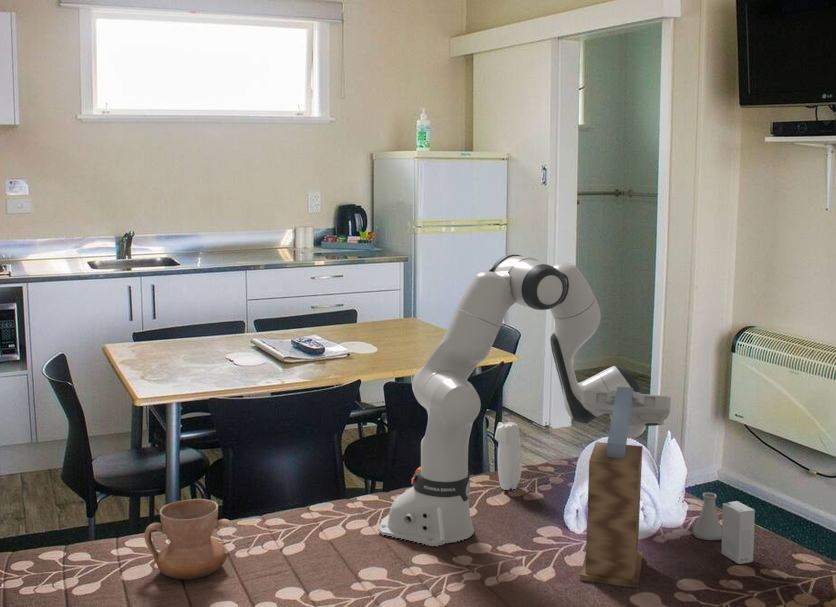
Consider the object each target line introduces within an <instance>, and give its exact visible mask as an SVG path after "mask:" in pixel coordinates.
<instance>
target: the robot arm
mask: <svg viewBox="0 0 836 607" xmlns="http://www.w3.org/2000/svg"><path fill="white" fill-rule="evenodd" d="M515 304H518V305H521V306H524V307H527V308H531V309H533V310H539V311H547V310H550V312H551V315H552V316H553V319H554V330H553V333H552V334H551V335H550V337H549V338H550V339H549V340H550V347H551V352H552V356H553V360H554V364H555V369H556V372H557V376H558V380H559V383H560V387H561V392H562V397H563V398H562V399H563V404H564V409H565V411H566V413H567V415H568V416H569V417H570V418H571V419H572V421H574V422H577V423H581V424H585V425H586V424H589V423H591V422H593V421H594V420H596V419H597V418H599V417H600V416H602V415H603V414H609V417H610V420H612V414H613V409H614V403H615V398H616V392H617V387H628V388H633V392H632V395H633V396H632V401H633V403H632V410H631V417H630V423H629V430H628V437H627V439H635V438H637V437H639V436H640V435H642V434H644V431H645V430H646V428H647V427H653V426H663V425H664V422H665V420H667V419H668V418H669V416H670V412H671V400H672V398H671V397H670V396H668V395H661V394H660V395H659V394H648V393H647V394H645V393H642V392H641V389H640V386H639V384H638V383H637V380H636V379H635V378H634V376H633V374H631V372H630V371H629V370H628V369H626V368H624V367H622V366H619V365H613V366H610V367H608V368H606V369H604V370H602V371H600V372H598V373H597V374H594V375H593V376H590V377H588V378H586V379H584V380H583V381H580V382H578V379H577V377H576V372H575V369H574V364H573V362H574V357H575V356H576V354H577V353H578V351H579V350H580V349H581V348H582V346H583V345H584V344H585V343H586V342H588V341H589V339H591V337H593V335H594V334H595V333H596V331H597V330H598V328H599V326H600V323H601V318H602V313H601V308H600V306H599V303H598V300H597V299H596V296H595V294H594V292H593V290H592V288H591V286H590V284H589V282H588V281H587V279H586V278H585V276H584V275H583V274H582V272H581V271H580V270H579V268H578V267H577V266H576V265H574V264H572V263H570V262H560V263H556V264H553V265H549V264H546V263H544V262H542V261H539V260H538V259H535V258H532V257H530V256H529V257H528V256H523V255H521V254H507V255H503V256H502V257H501V258H498V260H497V261H496V262H495V263H494V264H493V265H492V267H491V268H490V269H489V270H486V271H480V272H478V273H476V275H475V276H474V277H473V278H472V279H471V281H470V283H469V284H468V285H467V287H466V289H465V290H464V292H463V295H462V296H461V299H459V302H458V304H457V305H456V308H455V311H454V312H453V315H452V317H451V320H450V322H449V324H448V326H447V328H446V330H445V333H444V335H443V337H442V339H441V341H440V342H439V344H438V346H437V347H436V348H435V350H434V351H433V353H432V354H431V356H430V357H429V358H428V360H427V361H426V363H425V364H424V365H423V366H421V367H420V368H418V369H417V371H416V372H415V373H414V375H413V378H412V380H411V387H412V388H411V389H412V392H413V395H414V397H415V400H416V401H417V402H418V404H420V405H421V406H422V407H423V408H424V409H425V410H426V413H427V425H426V430H425V434H424V436H423V438H421V442H420V466H419V467H418V468H417V469H416V470H415V472H414V474H413V476H412V477H411V485H412V487H410V488H409V489H407V490H405V491H404V492H403V493H402V494H400V495H398V496H397V497H396V498H395V499H394V501H393V502H392V504H391V505H390V508H389V512H388V514H387V515H386V516H385V517H384V518H383V519H382V520H381V522H380V523H379V527H378V531H379V532H380V533H381V534H382V535H381V534H380V533H379V532H378V533H379V534H380V535H381V536H384V535H387V536H386V537H388V536H392V537H391V538H393V537H396V538H395V539H397V538H401V539H400V540H402V539H406V540H410V541H414V542H413V543H415V542H417V543H416V544H419V543H422V544H421V545H424V544H425V545H426V546H429V547H433V546H436V547H440V546H443V545H446V544H451V543H458V542H461V541H460V540H462V541H464V539H465V540H466V539H469V538H471V537H472V536H473V535H474V533H475V530H474V529H475V528H474V526H473V522H472V517H471V513H470V512H471V511H470V504H469V503H470V502H469V498H470V494H471V479H470V473H469V470H468V469H469V465H468V464H469V443H470V441H469V440H470V436H471V432H472V428H473V423H474V421H475V420H476V419H477V417H478V416H479V414H480V411H481V406H482V405H481V399H480V395H479V393H478V392H477V390H476V388H475V387H474V385H473V384H472V382H470V381H468V379H469V377H470V376H471V374H473V372H474V370H475V369H476V368H477V367H478V366H479V364H481V363H482V362H483V361H485V360H486V359H487V358H488V356H489V354H490V351H491V349H492V347H493V345H494V342H495V340H496V338H497V336H498V333H499V331H500V329H501V327H502V324H503V321H504V319H505V316H506V314H507V312H508V310H509V309H510V308H511V307H512V306H513V305H515ZM406 540H405V541H406ZM410 541H409V542H410ZM457 541H458V542H457ZM445 543H446V544H445ZM425 545H424V546H425ZM439 545H440V546H439Z"/></svg>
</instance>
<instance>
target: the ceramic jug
mask: <svg viewBox="0 0 836 607" xmlns="http://www.w3.org/2000/svg"><path fill="white" fill-rule="evenodd" d="M158 511H159V512H158V513H159V517H160V522H152V523H150V524H149V525H148V526H146V528H145V530H144V542H145V544H146V547H147V548H148V550H149V551H150V553H151V554H152V556H153V560H154V562H155V564H156V566H157V568H158V570H159V571H160V572H161V573H162V574H163V575H165V576H167V577H169V578H173V579H177V580H195V579H200V578H204V577H207V576H209V575H212V574H213V573H215V572H216V571H218V570H219V569H220V568H222V566H223V565H224V563H225V562H226V561H227V559H228V557H229V555H230V554H229V553H230V552H229V550H228V548H227V549H226V547H225V546H224V545H223V544H222V543H221V542H220V541H218V540H216V539H214V538H212V535H213V533H214V531H215V530H216V529H217V528H219V527H222V526H223V527H227V528H228V527H229V524H230V522H231V521H230V520H229V519H228V518H227V519H226V518H222V519H218V516H219V505H218V503H217V502H216V501H214V500H211V499H206V498H193V499H185V500H177V501H174V502H171V503H170V502H169V503H168V504H165V505H163V506H162V507H161V508H160V509H159V510H158ZM153 531H157V532H160V533H162V534H163V535H166V536H167V538H168V541H169V544H167V545H166V546H165V547H164V548H162V549H161V550H160V551H159V552H158V551H157V549H156V547H155V545H154V543H153V539H152V533H153Z"/></svg>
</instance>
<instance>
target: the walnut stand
mask: <svg viewBox="0 0 836 607" xmlns="http://www.w3.org/2000/svg"><path fill="white" fill-rule="evenodd" d="M642 461H643V446H642V445H634V444H626V450H625V457H624V459H621V458H610V457H607V442H602V441H601V442H600V441H595V443H594V446H593V449H592V451H591V454H590V458H589V460H588V483H587V484H588V488H587V510H586V511H587V515H586V516H587V517H586V541H585V542H586V543H585V544H586V545H585V546H586V547H585V554H584V555H585V556H584V559H583V563H582V567H581V571H580V574H579V581H584V582H590V583H591V582H593V583H598V584H607V585H612V586H613V585H614V586H623V587H629V588H634V589H635V588H636V589H639V585H640V584H639V583H640V577H641V571H642V570H641V569H642V564H643V557H644V556H643V554H644V553H643V552H642V551H639V533H640V531H639V529H640V512H641V508H640V507H641V490H642V489H641V487H642V486H641V485H642V467H643V466H642V465H643V464H642Z"/></svg>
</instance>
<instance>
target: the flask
mask: <svg viewBox="0 0 836 607" xmlns="http://www.w3.org/2000/svg"><path fill="white" fill-rule="evenodd" d="M717 497H718V495H717V494H716V493H714V492H703V494H702V498H703V503H702V507H701V511H700V513H699V516H698V518H697V520H696V522H695V524H694V526H693V529H692V530H691V534H692V535H693V536H694V537H695V538H696V539H701V540H706V541H722V525H721V523H720V520H719V518H718V516H719V515H718V513H717V507H716V499H717Z"/></svg>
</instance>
